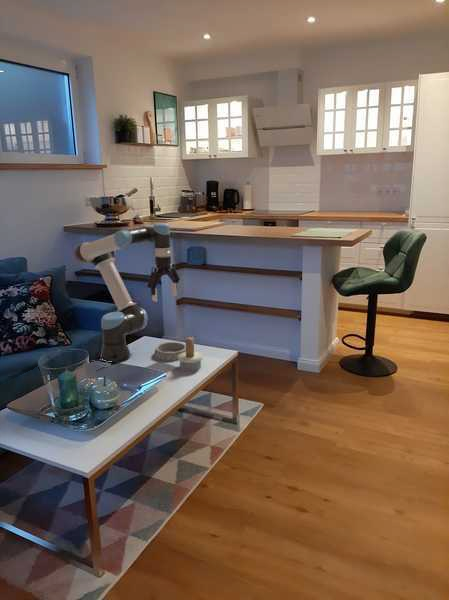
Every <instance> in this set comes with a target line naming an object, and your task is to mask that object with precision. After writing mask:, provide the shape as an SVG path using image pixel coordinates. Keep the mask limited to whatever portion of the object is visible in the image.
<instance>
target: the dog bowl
mask: <svg viewBox="0 0 449 600" xmlns="http://www.w3.org/2000/svg"><path fill="white" fill-rule="evenodd" d="M168 351H169V352H168ZM171 351H172V352H171ZM184 352H186V343H182V342H178V341H169V342H163V343H160V344H158V345H156V347H155V350H154V355H153V357H154V358H155V359H156V360H159V361H161V362H163V361H164V362H175V361H179V360H178V355H179V354H181V353H184Z"/></svg>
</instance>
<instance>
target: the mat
mask: <svg viewBox="0 0 449 600" xmlns="http://www.w3.org/2000/svg"><path fill="white" fill-rule="evenodd" d="M145 367H146V368H151V369H155V370H160V371H163V372H165V374H167V373H169V372H172V371H174V370H176V369H178V368H179V367H178V366H176V365H172V364H169V363H165V362H163V361H161V360H159V361H157V362H155V363H152V364H150V365H148V366H145Z"/></svg>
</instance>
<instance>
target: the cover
mask: <svg viewBox="0 0 449 600" xmlns="http://www.w3.org/2000/svg"><path fill="white" fill-rule="evenodd" d="M194 340H195V339H194V337H193V336H192V337H189V336H188V337H185V345H186V352H184V353H181V354H179V355H178V360H177V361H178V362H179V363H180V362H183V363H195V362H199V361H201V362H202V360H203V357H204V356H203V354H202V353H201V352H197V351H195V341H194Z"/></svg>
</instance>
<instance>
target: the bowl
mask: <svg viewBox="0 0 449 600" xmlns="http://www.w3.org/2000/svg"><path fill="white" fill-rule="evenodd" d="M201 367H202V360H201V361H199V362H195V363H183V362H180V361H179V369H180V370H181V371H182V372H197V371H198V370H200V369H201Z"/></svg>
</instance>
